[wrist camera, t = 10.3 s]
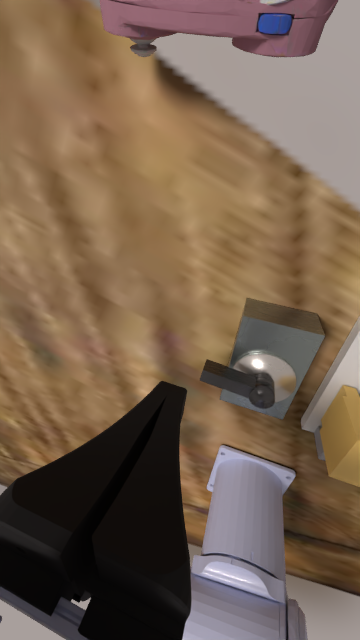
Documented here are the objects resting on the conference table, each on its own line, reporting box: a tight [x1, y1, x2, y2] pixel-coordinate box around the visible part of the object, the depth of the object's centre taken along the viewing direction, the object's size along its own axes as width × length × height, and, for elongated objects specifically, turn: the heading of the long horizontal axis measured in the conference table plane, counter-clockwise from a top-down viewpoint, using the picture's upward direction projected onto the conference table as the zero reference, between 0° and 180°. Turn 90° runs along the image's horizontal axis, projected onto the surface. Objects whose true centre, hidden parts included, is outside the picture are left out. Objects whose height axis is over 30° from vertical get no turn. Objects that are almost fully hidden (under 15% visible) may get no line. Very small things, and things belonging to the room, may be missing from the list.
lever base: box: [220, 298, 325, 420], centre depth 19 cm, size 8×5×3 cm, turn 174°
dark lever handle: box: [200, 360, 275, 409], centre depth 17 cm, size 5×2×2 cm, turn 79°
